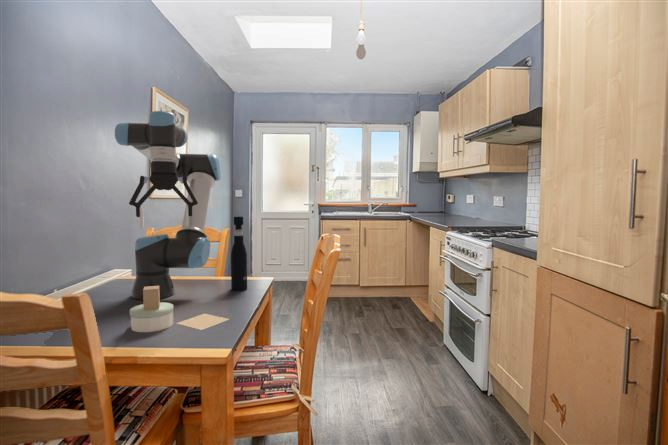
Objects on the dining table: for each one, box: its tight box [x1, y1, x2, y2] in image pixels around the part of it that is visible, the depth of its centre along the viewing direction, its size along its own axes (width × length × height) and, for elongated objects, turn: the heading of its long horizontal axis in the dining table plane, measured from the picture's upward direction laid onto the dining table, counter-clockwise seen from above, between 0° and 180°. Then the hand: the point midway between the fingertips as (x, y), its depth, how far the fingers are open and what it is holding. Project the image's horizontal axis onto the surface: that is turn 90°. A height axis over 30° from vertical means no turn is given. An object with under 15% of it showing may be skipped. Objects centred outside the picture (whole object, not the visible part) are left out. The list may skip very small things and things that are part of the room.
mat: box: [175, 313, 230, 331], centre depth 118 cm, size 11×11×1 cm
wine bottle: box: [230, 216, 248, 292], centre depth 160 cm, size 6×6×30 cm
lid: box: [129, 286, 175, 318], centre depth 114 cm, size 12×12×7 cm
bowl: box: [130, 311, 174, 333], centre depth 114 cm, size 11×11×5 cm
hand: (165, 227), depth 127 cm, fingers open, 13 cm apart
